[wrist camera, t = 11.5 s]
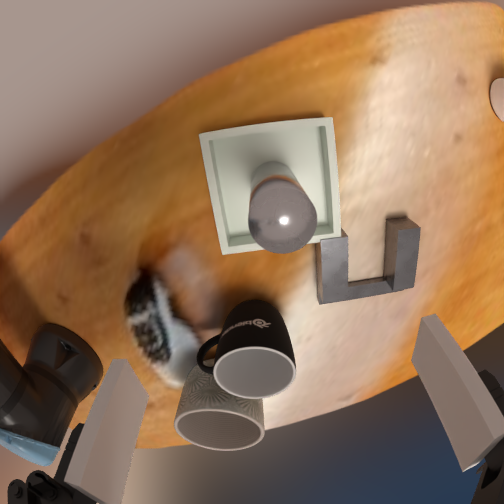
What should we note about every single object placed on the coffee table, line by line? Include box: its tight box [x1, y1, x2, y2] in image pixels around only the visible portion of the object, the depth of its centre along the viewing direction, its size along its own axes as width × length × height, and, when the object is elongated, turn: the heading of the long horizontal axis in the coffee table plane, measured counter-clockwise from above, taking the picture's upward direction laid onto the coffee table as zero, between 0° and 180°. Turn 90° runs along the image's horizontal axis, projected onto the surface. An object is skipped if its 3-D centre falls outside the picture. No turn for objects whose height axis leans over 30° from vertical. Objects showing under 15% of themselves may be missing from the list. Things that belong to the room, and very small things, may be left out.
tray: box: [199, 117, 341, 255], centre depth 29 cm, size 13×13×3 cm
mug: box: [197, 300, 296, 399], centre depth 34 cm, size 12×9×10 cm
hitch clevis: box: [315, 217, 421, 305], centre depth 33 cm, size 12×10×4 cm
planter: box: [174, 359, 265, 451], centre depth 39 cm, size 12×12×11 cm
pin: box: [248, 161, 317, 253], centre depth 25 cm, size 5×5×12 cm
